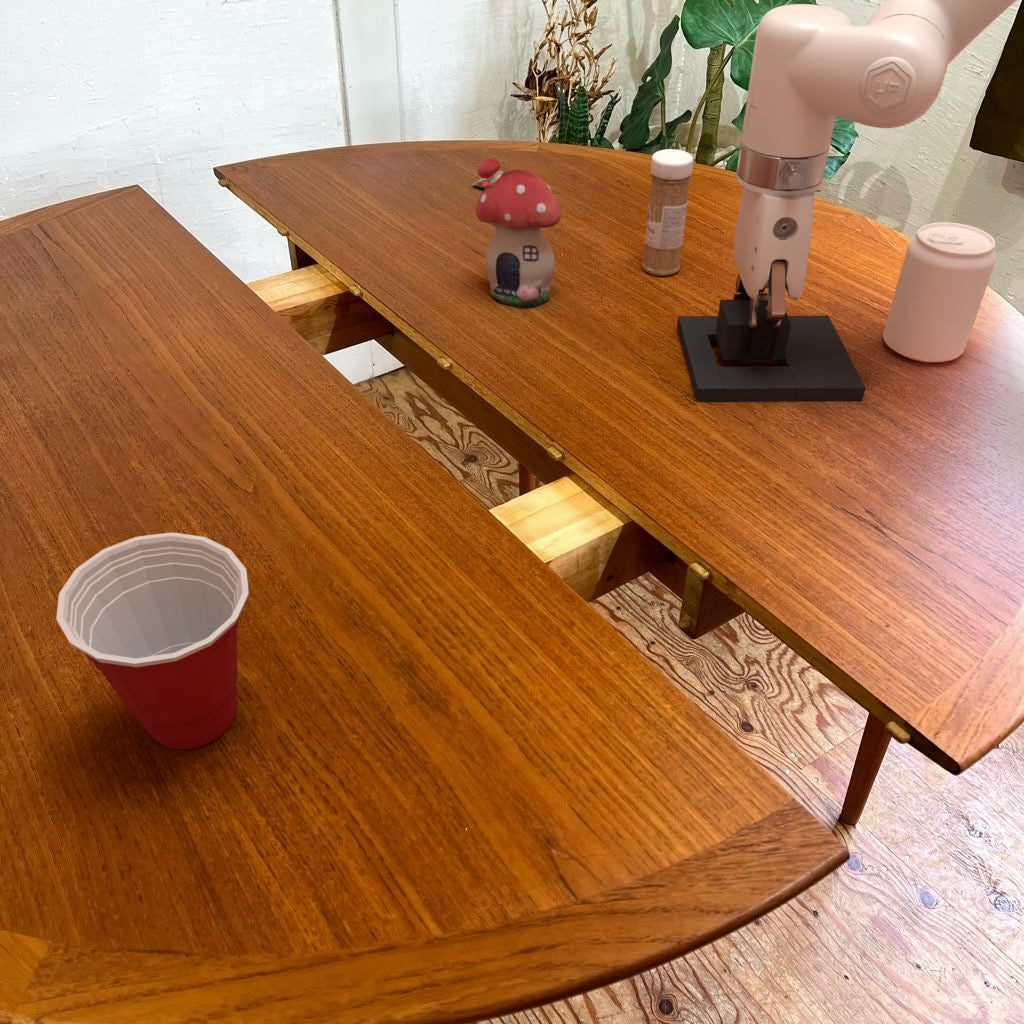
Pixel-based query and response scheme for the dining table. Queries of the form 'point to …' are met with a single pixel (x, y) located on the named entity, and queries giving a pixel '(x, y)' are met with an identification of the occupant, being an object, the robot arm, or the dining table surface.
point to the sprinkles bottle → (667, 211)
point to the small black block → (732, 328)
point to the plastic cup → (162, 631)
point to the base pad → (802, 376)
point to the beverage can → (939, 291)
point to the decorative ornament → (517, 234)
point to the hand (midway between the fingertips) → (750, 343)
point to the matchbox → (481, 183)
